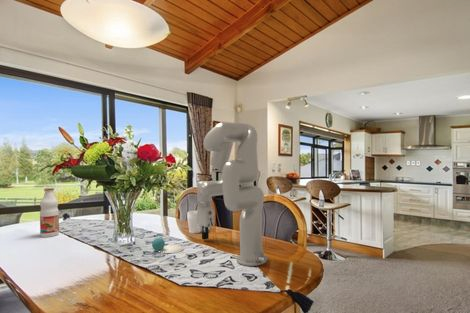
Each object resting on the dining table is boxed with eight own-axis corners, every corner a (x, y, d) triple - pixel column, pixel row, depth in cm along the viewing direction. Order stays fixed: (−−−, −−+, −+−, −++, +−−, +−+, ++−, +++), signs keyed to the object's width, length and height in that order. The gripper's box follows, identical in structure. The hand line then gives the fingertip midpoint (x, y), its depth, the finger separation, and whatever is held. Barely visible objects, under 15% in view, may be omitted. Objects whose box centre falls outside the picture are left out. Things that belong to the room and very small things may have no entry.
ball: (160, 236, 135) (150, 246, 133) (168, 244, 137) (159, 254, 134) (157, 234, 140) (148, 243, 138) (165, 242, 142) (156, 252, 139)
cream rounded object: (189, 249, 138) (189, 249, 138) (164, 255, 129) (164, 255, 129) (176, 243, 148) (176, 243, 148) (152, 249, 139) (152, 248, 139)
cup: (195, 234, 164) (194, 213, 164) (184, 232, 170) (183, 212, 170) (205, 231, 171) (205, 211, 172) (195, 229, 177) (194, 209, 177)
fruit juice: (62, 234, 172) (61, 187, 172) (46, 238, 163) (45, 189, 163) (53, 232, 176) (52, 187, 176) (36, 236, 168) (36, 188, 168)
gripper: (218, 205, 148) (219, 240, 148) (202, 202, 160) (203, 234, 159) (206, 206, 143) (207, 243, 143) (191, 203, 155) (191, 237, 155)
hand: (205, 238), depth 151 cm, fingers closed
